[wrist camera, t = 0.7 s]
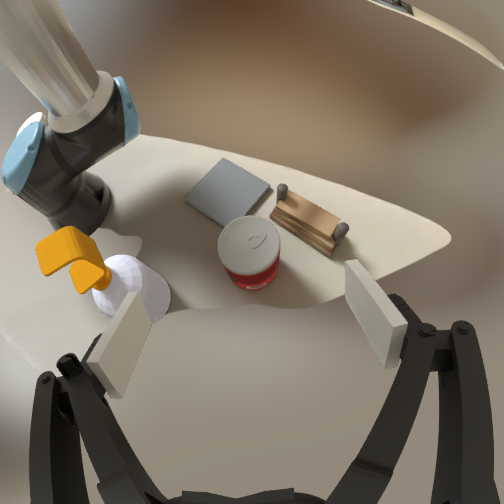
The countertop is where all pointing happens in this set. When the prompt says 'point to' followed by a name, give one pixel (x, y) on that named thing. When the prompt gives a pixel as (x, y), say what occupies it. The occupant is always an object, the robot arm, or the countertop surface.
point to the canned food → (250, 251)
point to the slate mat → (227, 192)
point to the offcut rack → (308, 221)
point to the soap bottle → (103, 272)
